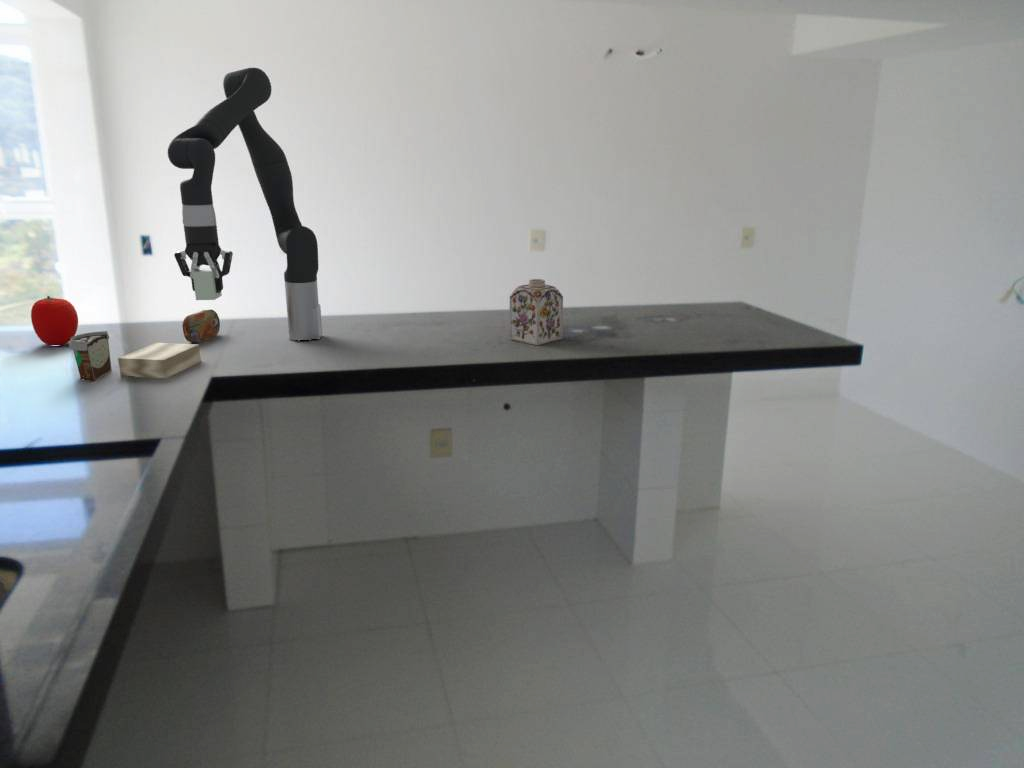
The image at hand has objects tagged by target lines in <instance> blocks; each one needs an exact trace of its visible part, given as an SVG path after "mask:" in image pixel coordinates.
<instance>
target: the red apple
mask: <svg viewBox="0 0 1024 768" xmlns="http://www.w3.org/2000/svg"><path fill="white" fill-rule="evenodd" d="M30 318H31V324H32V328H33V331H34V333H35V334H36V336H37V337H38V338H39V340H41V342H43V344H45V345H47V346H50V345H62V346H64V344H65V345H67V344H68V343H70V341H71V338H72V337H74V336H76V334H77V330H78V325H79V317H78V312H77V310H76V308H75V306H74V305H73V304H72V303H71V302H70V301H69V300H67V299H64V298H57V297H50V295H47V297H44V298H41V299H39V300H36V301H34V304H33V305H32V307H31V310H30Z"/></svg>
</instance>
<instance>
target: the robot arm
mask: <svg viewBox="0 0 1024 768" xmlns="http://www.w3.org/2000/svg"><path fill="white" fill-rule="evenodd" d="M222 86H223V92H224V95H225V99H224V100H222V101H221V102H219V103H218V104H216V105H214V106H213V107H212V108H210V109H209V110H207V112H205V113H204V114H203V116H201V117H200V118H199V120H198V121H197V122H196V123H195V124H194V125H193V126H191V127H190V128H187V129H185V130H184V131H182V132H181V133H179V134H178V135H176V136H174V138H173V139H172V140H171V141H170V143H169V145H168V148H167V158H168V160H169V163H171V164H172V165H173V166H174V167H176V168H178V169H181V170H182V169H183V170H193V173H192V175H191V177H190V178H187V179H184V180H182V181H180V184H179V192H180V198H181V199H180V200H181V206H182V207H181V208H182V209H181V210H182V212H181V214H182V215H181V216H182V224H183V231H184V237H185V238H184V239H185V249H184V250H182V251H177V252H174V254H173V255H174V258H175V260H176V263H177V265H178V267H179V270H180V272H181V274H182V276H184V277H189V278H190V280H191V288H192V291H193V292H195V288H194V280H193V272H194V271H197V270H199V269H201V266H208V267H209V268H210V269H211V270H212V271H214V276H215V286H216V293H220V292H221V293H222V291H223V289H224V283H223V277H225V276H227V275H229V274H230V272H231V271H230V270H231V265H232V260H233V255H234V253H233V252H232V251H231V250H229V251H228V250H223V249H222V248H221V246H220V244H219V236H218V226H217V225H218V224H217V217H216V211H215V208H214V200H213V193H212V192H213V191H212V184H213V178H214V172H215V166H216V165H215V164H216V153H215V150H216V149H217V148H219V146H220V147H221V144H223V142H224V141H225V140H226V139H227V138H228V137H229V135H230V134H231V133H232V131H234V129H235V128H236V127H237V126H238V128H239V130H240V132H241V136H242V138H243V140H244V142H245V145H246V148H247V151H248V153H249V157H250V160H251V163H252V167H253V170H254V173H255V175H256V178H257V181H258V184H259V187H260V188H261V191H262V193H263V197H264V199H265V203H266V204H267V207H268V209H269V212H270V215H271V219H272V224H273V227H274V231H275V236H276V241H277V244H278V246H279V248H280V250H281V251H282V252H283V254H286V269H285V271H284V272H283V280H284V288H285V302H286V304H285V305H286V313H287V314H286V315H287V327H288V337H289V340H291V341H295V340H298V341H297V342H301V341H300V340H309V341H312V340H311V339H318V338H320V337H321V338H322V336H323V323H322V309H321V307H322V306H321V304H320V302H319V291H318V289H319V288H318V272H319V248H318V246H319V245H318V240H317V237H316V234H315V232H314V231H313V230H312V229H311V228H309V227H307V226H304V225H302V222H301V220H300V218H299V215H298V212H297V210H296V206H295V202H294V201H295V200H294V187H293V186H294V183H293V176H292V172H291V169H290V165H289V163H288V160H287V156H286V154H285V152H284V150H283V149H282V147H281V146H280V145H279V144H278V143H277V142H276V140H274V138H272V136H271V135H270V134H268V133H267V131H266V130H265V129H264V128H263V127H262V125H261V123H260V122H259V120H258V117H257V115H256V113H255V110H257V109H258V108H260V106H262V105H264V104H265V103H266V102H268V101H269V99H270V98H271V95H272V83H271V81H270V79H269V76H268V75H267V74H266V72H265V71H264V70H263V69H260V68H258V67H248V68H242V69H238V70H235V71H230V72H228V73H226V74H225V75H224V77H223V80H222ZM220 255H221V259H222V260H223V265H222V268H220V264H219V261H218V259H219V257H220ZM187 257H188V258H189V259H190V260H191V265H190V267H189V265H188V263H187V261H186V260H187ZM321 335H322V336H321ZM321 338H320V339H321Z"/></svg>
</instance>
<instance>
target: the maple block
mask: <svg viewBox="0 0 1024 768" xmlns="http://www.w3.org/2000/svg"><path fill="white" fill-rule="evenodd" d="M117 361H118V367H119V373H120V377H128V376H135V377H134V378H149V379H150V378H151V379H152V378H153V379H167V378H169V377H171V376H174V375H176V374H178V373H180V372H182V371H184V370H186V369H188V368H190V367H192V366H195V365H197V364H199V363H201V361H202V357H201V350H200V343H193V344H192V343H176V342H175V343H172V342H171V343H170V342H155V343H152V344H150V345H148V346H145V347H143V348H140V349H137V350H135V351H132V352H129V353H126V354H125V355H122V356H119V357H118V358H117Z"/></svg>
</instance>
